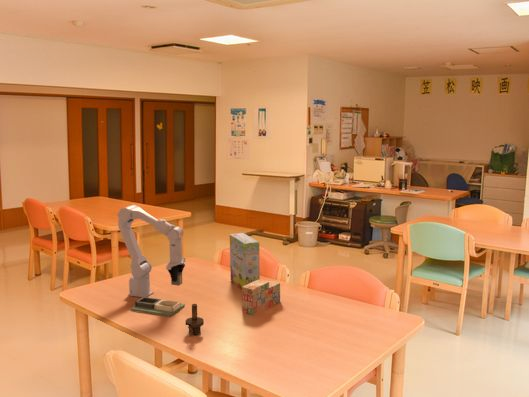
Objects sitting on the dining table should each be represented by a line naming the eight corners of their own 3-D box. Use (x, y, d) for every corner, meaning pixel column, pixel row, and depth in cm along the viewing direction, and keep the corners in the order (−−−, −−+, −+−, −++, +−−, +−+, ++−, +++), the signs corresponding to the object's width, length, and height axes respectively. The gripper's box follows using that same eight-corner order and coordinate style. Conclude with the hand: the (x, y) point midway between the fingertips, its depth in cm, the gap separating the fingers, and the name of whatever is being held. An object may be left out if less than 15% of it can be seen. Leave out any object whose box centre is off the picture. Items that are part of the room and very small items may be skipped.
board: (131, 310, 225) (130, 304, 225) (147, 300, 238) (147, 294, 237) (170, 316, 219) (169, 310, 218) (184, 306, 231) (184, 299, 230)
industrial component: (191, 338, 197) (191, 309, 195) (181, 332, 202) (180, 304, 201) (211, 331, 204) (210, 303, 202) (200, 326, 209) (200, 298, 207)
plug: (171, 284, 240) (171, 273, 239) (174, 282, 243) (174, 271, 242) (178, 285, 238) (178, 274, 237) (182, 283, 241) (182, 272, 240)
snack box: (228, 281, 266) (228, 233, 262) (244, 278, 270) (244, 232, 266) (244, 294, 247) (244, 243, 243) (260, 291, 251) (260, 241, 247)
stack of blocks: (269, 298, 241) (269, 274, 239) (280, 301, 237) (280, 276, 235) (241, 312, 224) (241, 286, 222) (252, 315, 220) (252, 289, 218)
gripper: (175, 257, 230) (176, 285, 232) (190, 249, 243) (191, 276, 246) (162, 255, 232) (162, 283, 235) (177, 248, 246) (178, 274, 248)
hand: (176, 280), depth 240 cm, fingers closed on plug, 3 cm apart
